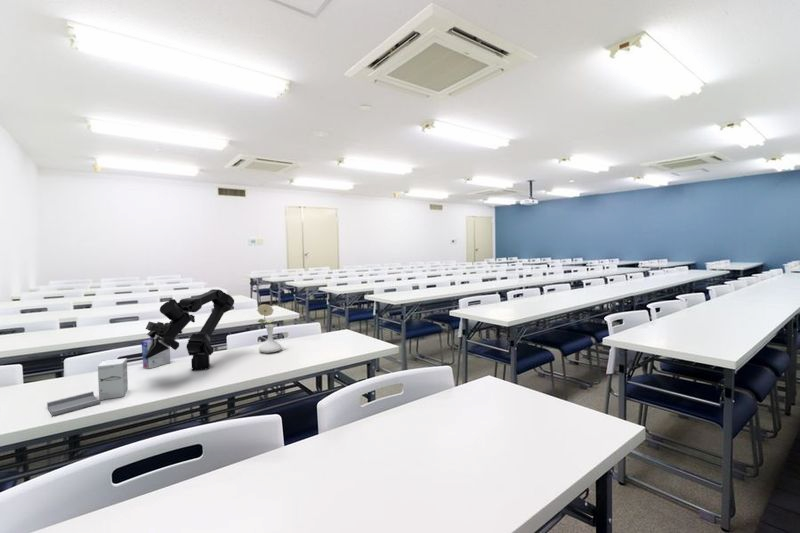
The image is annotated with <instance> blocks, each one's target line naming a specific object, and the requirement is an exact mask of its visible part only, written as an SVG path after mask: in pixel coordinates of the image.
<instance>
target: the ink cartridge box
mask: <svg viewBox="0 0 800 533" xmlns="http://www.w3.org/2000/svg"><path fill="white" fill-rule="evenodd" d="M149 338H150V339H146V340H143V341H141V354H142V356H141V357H142V367H143V368H145V369H148V370H149V369H152V368H156V367H159V366H163V365H167V364H170V363H171V347H170V346H168V348H169V349H166V350H164V351H162V352H160V353H158V354H156V355H154V356H152V357H150V358H148V359H147V358H145V356H146V354H147V352H148V350H149V348H150V346H151V344H152V341H151V337H150V336H149Z"/></svg>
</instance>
